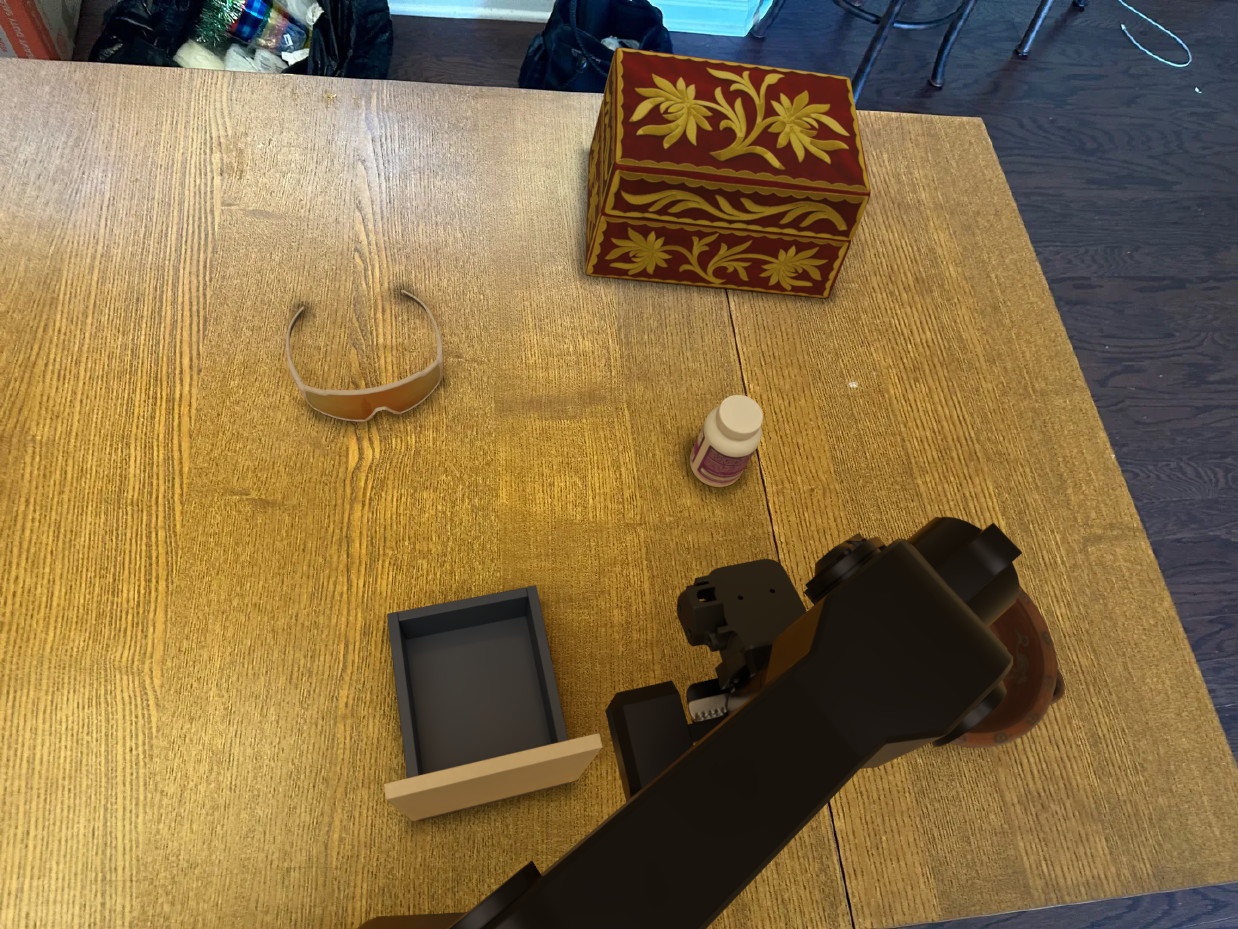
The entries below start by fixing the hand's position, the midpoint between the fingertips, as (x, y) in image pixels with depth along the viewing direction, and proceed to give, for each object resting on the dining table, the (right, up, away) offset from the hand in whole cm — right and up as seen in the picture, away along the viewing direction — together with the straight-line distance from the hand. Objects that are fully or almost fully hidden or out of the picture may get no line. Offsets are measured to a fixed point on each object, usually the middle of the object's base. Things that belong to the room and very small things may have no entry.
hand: (734, 737), depth 55 cm
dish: (+20, +1, +19) cm, 28 cm away
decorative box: (+2, +46, +39) cm, 60 cm away
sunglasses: (-32, +29, +25) cm, 50 cm away
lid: (-15, -1, -4) cm, 16 cm away
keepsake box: (-19, -1, +11) cm, 22 cm away
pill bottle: (+2, +18, +25) cm, 31 cm away
